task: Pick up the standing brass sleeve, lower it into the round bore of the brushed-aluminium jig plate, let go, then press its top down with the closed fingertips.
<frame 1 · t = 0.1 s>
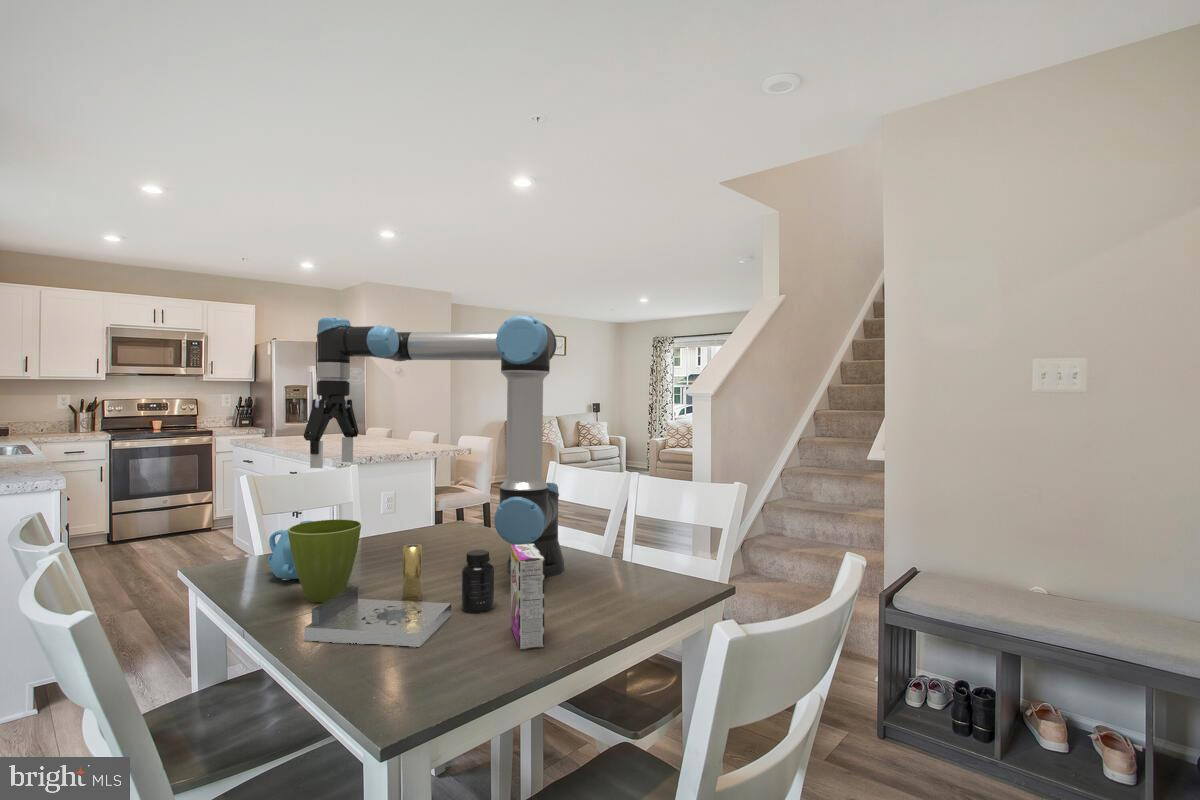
hand: (332, 465, 148), 28 cm above the table, tool pointing down, fingers open, 13 cm apart
decorative pot: (306, 576, 149), on the table
supplement bottle: (477, 609, 126), on the table
flower pot: (324, 598, 132), on the table
candy bar box: (526, 638, 111), on the table
jig: (382, 627, 115), on the table
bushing: (412, 599, 131), on the table
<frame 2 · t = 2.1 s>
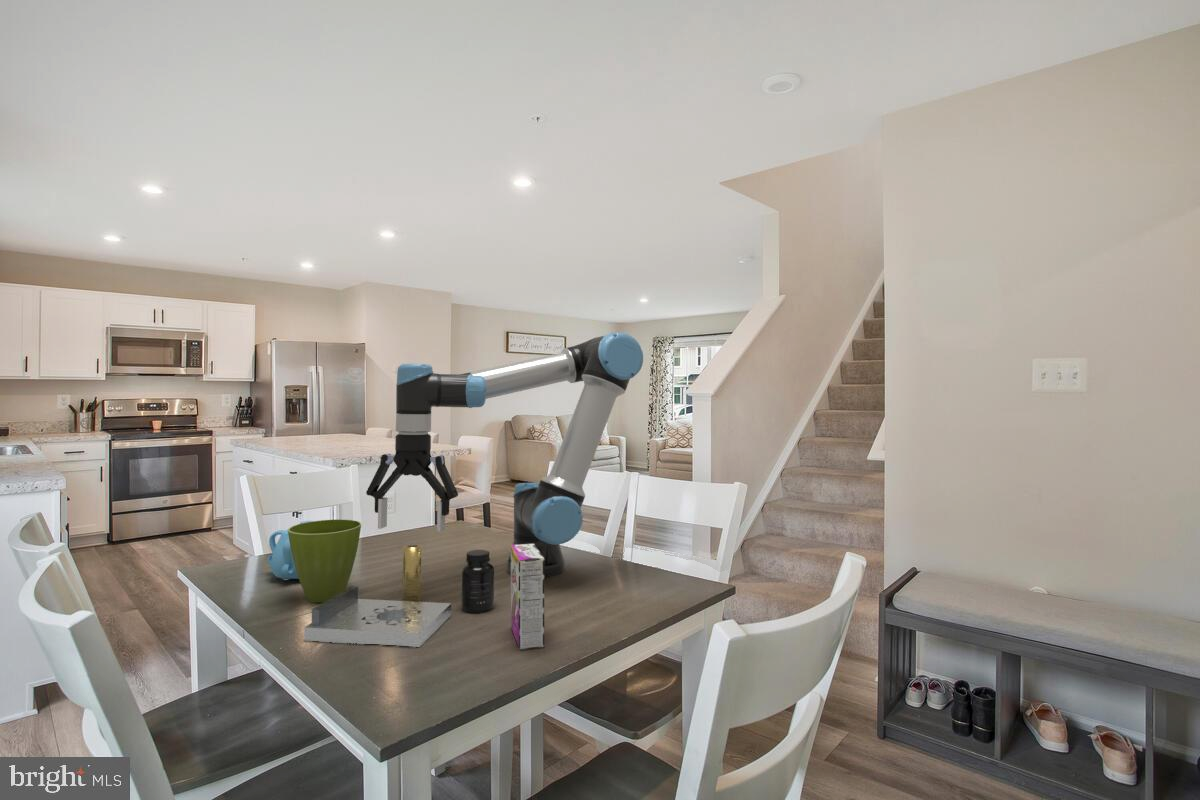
hand: (411, 528, 131), 16 cm above the table, tool pointing down, fingers open, 13 cm apart
nothing on the table moved.
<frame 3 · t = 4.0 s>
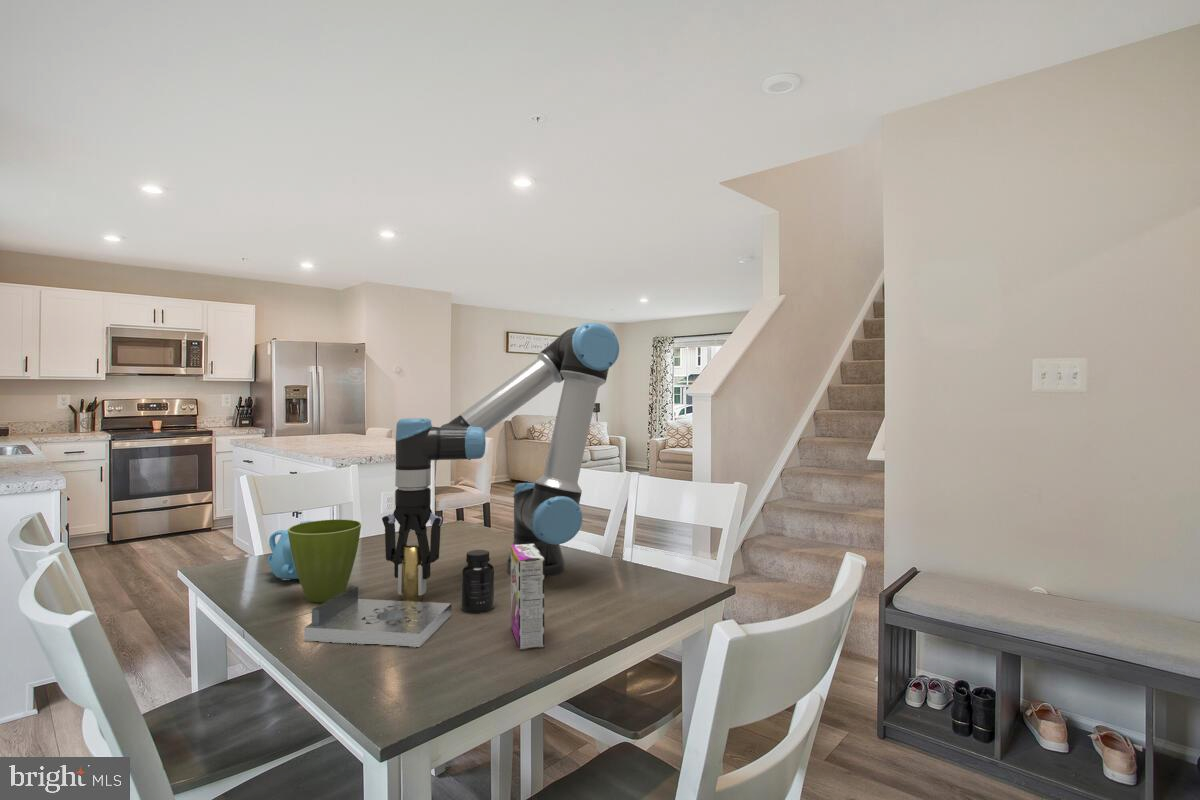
hand: (412, 592, 131), 2 cm above the table, tool pointing down, fingers closed on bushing, 4 cm apart
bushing: (412, 599, 131), on the table, touching gripper
everything else where it was.
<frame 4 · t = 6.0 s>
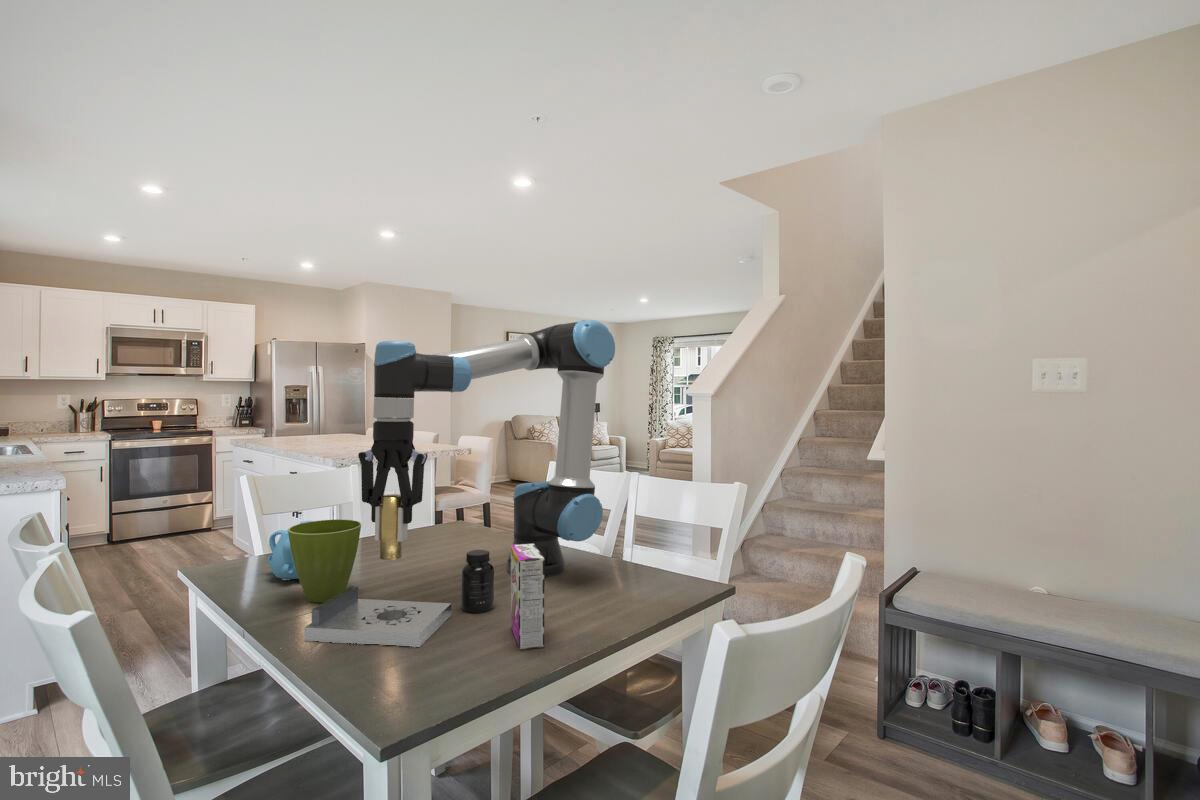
hand: (391, 539, 116), 17 cm above the table, tool pointing down, fingers closed on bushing, 4 cm apart
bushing: (390, 557, 116), point 14 cm above the table, touching gripper
everything else where it was.
when the fingers open (3 cm above the table, at t = 8.1 s): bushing stays where it is, resting in jig.
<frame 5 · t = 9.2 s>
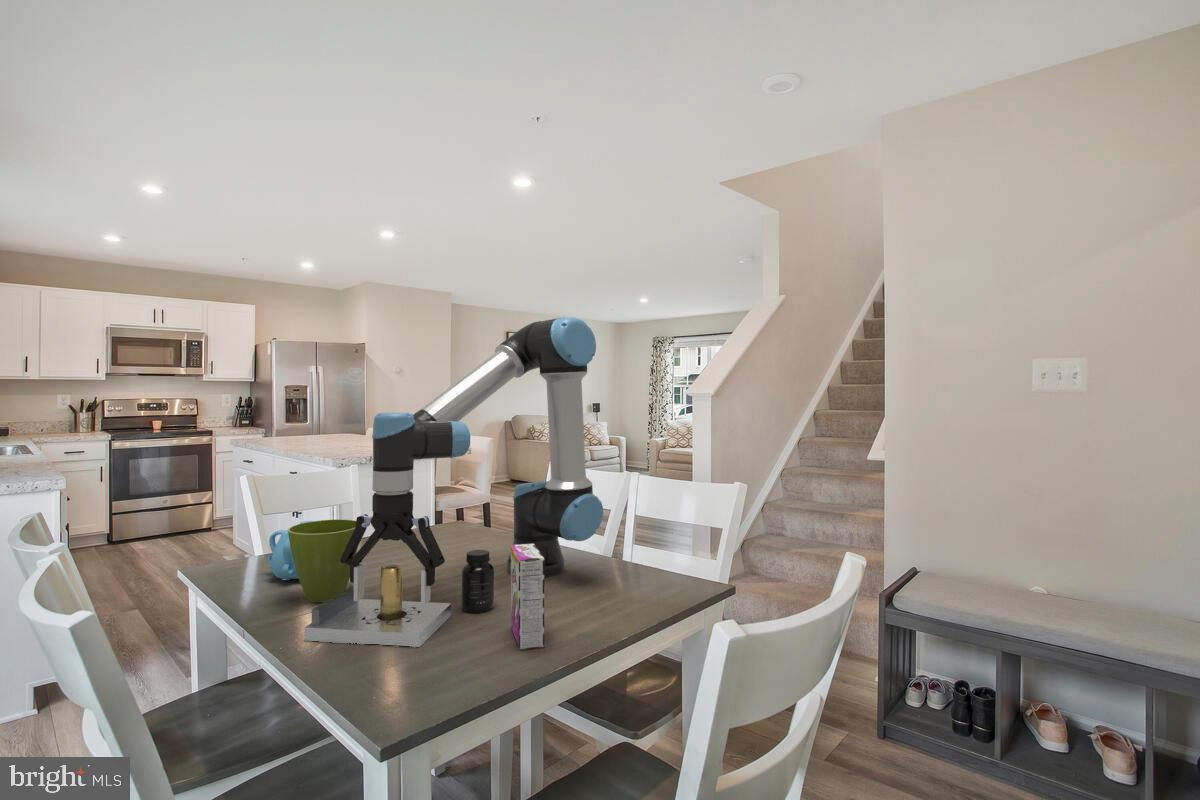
hand: (392, 600, 115), 5 cm above the table, tool pointing down, fingers open, 13 cm apart
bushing: (391, 628, 115), resting in jig
everything else where it was.
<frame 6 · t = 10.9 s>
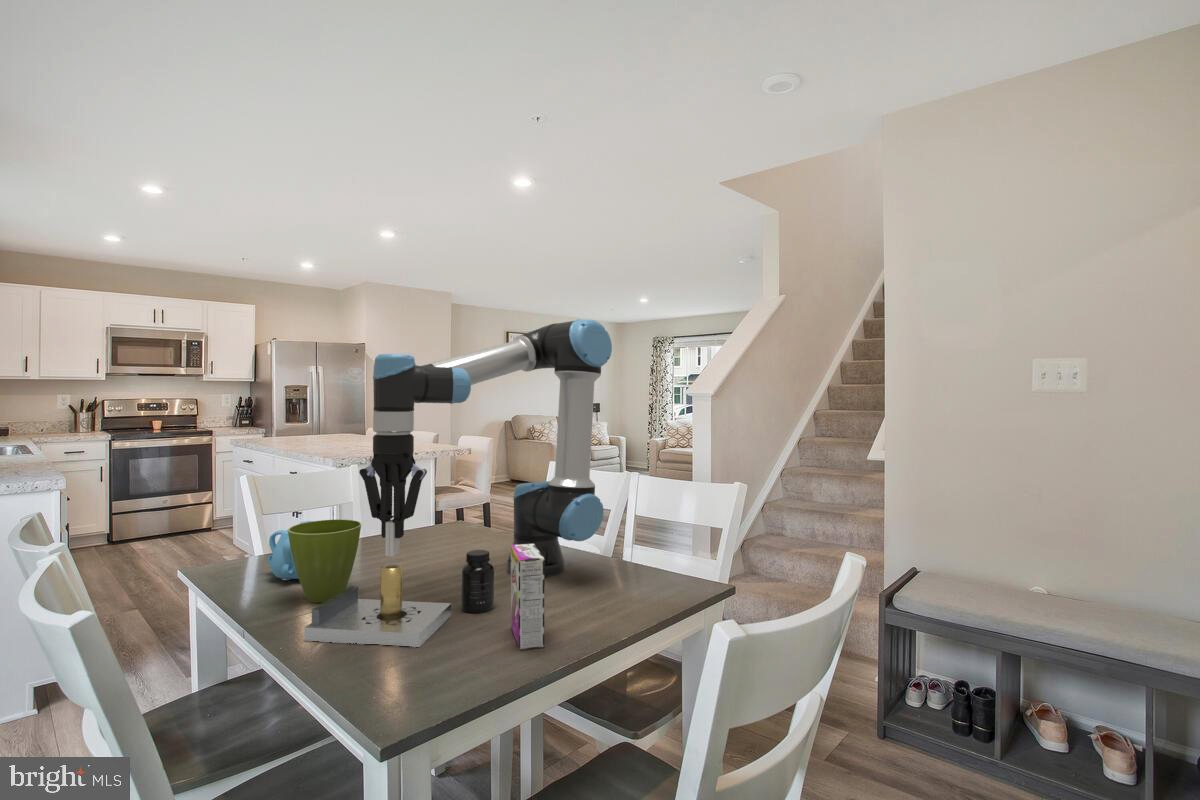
hand: (392, 554, 115), 14 cm above the table, tool pointing down, fingers closed
nothing on the table moved.
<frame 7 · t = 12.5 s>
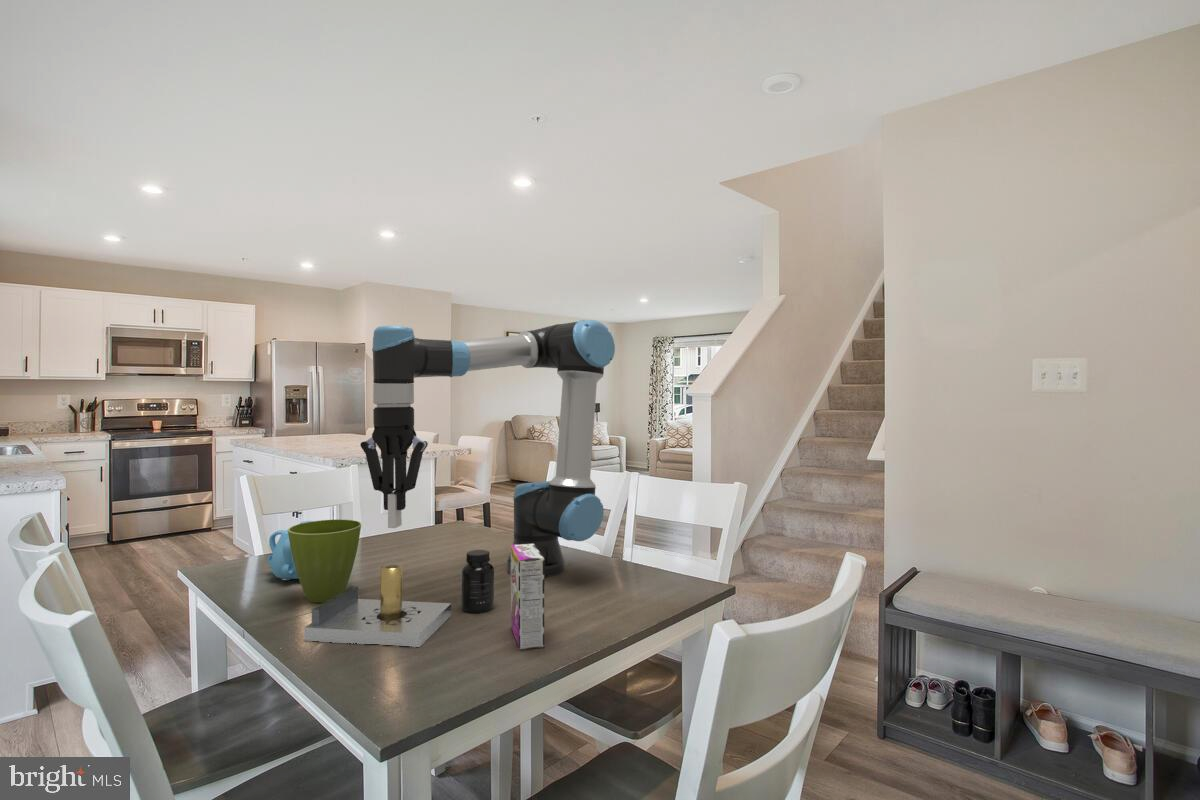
hand: (394, 526, 115), 20 cm above the table, tool pointing down, fingers closed
nothing on the table moved.
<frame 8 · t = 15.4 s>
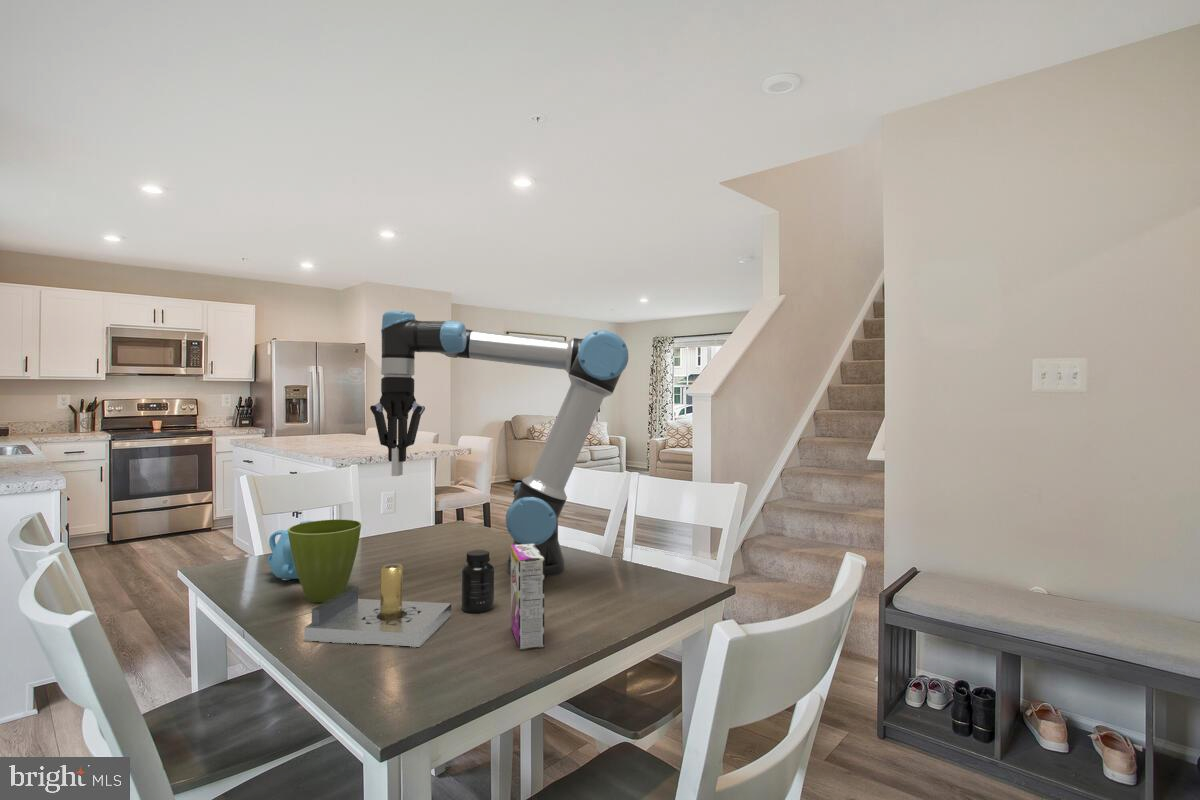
hand: (397, 475, 141), 26 cm above the table, tool pointing down, fingers closed
nothing on the table moved.
at the end: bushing 0.1 cm from the target spot in the jig, point 0.0 cm above the jig's base; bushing tilted 0°; the gripper is holding nothing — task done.
